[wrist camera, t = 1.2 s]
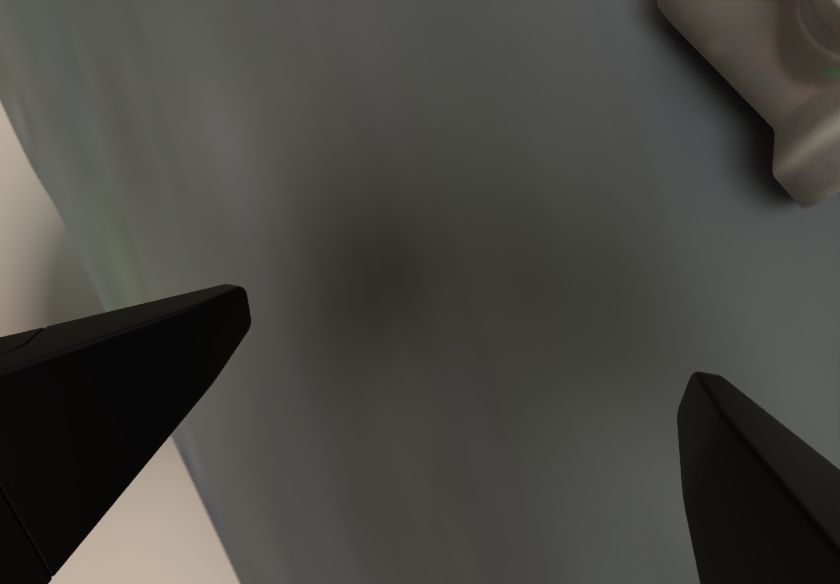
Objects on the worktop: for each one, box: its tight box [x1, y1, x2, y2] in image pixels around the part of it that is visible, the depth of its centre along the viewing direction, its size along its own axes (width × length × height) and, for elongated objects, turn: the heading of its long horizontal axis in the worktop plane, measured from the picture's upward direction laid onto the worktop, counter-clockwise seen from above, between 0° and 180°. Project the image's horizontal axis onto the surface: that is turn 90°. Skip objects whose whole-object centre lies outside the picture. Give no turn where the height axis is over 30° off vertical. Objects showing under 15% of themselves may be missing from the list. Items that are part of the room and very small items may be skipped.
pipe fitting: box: [657, 0, 840, 209], centre depth 17 cm, size 12×8×10 cm, turn 33°
